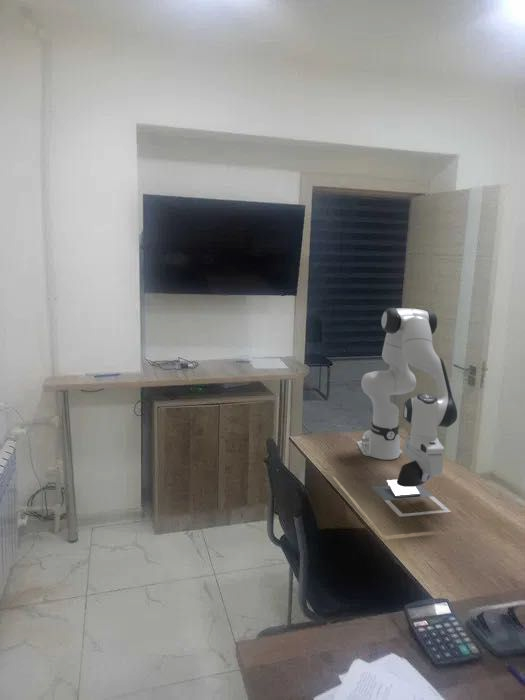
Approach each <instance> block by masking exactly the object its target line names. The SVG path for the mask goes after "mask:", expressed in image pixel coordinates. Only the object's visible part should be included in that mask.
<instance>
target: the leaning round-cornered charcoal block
mask: <svg viewBox="0 0 525 700" xmlns="http://www.w3.org/2000/svg"><path fill="white" fill-rule="evenodd" d="M421 475H423V472H422V469H421V468H420V466H419V465H418V463H417V462H416V461H410V462H408V463H405V464H403V465H402V466H401V467H400V471H399V474H398V477H397V479H398V480H397V479H396V480H397V484H398V485H400V486H403V487H414V486H418V485H421V486H422V485H423V484H424V483H426V482H423V481H422V480H420V478H421V477H420V476H421ZM430 477H431V476H430V475H428V477H427V481H428V480H429V479H430Z"/></svg>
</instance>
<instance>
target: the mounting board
mask: <svg viewBox="0 0 525 700" xmlns="http://www.w3.org/2000/svg"><path fill="white" fill-rule="evenodd" d="M415 487H416V488H417V490H418V491H419V493H420V496H413V497H401V498H395V497H394V495H393V494H392V492H391V490H390V488H389V487H388V485H380V486H377V485H376V486H371V489H372V490H374V492H375V493H376V494H377V495H378V496H379V497H380V498H381V499H382V500H383V501H384V502H385V503H386V505H388V506H389V507H390V508H391V509H392V510H393V511H394V512H395V514H396V515H397V516H398V517H410V516H411V517H413V516H420V515H421V516H422V515H423V516H424V515H431V514H443V513H452V510H450V509H449V508H448V507H446V505H444V504H443V503H442V502H441V501H439V499H437V498H436V497H435V496H434V495H433V494H431V493H430V492H429V491H427V490H426V488H424V487H423V486H422V484H421V485H418V486H415ZM419 498H420V499H421V498H428V499H431V501H433V502H434V503H435V504H436V505H438V507H439V508H440V509H439V510H431V511H419V512H408V513H403V512H402V511H400V509H398V507H396V505H395V504H393V503H392V501H395V500H398V501H399V500H408V499H419ZM441 509H442V510H441Z"/></svg>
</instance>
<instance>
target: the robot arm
mask: <svg viewBox="0 0 525 700" xmlns="http://www.w3.org/2000/svg"><path fill="white" fill-rule="evenodd" d="M437 326H438V317H437V314H436V313H435V312H433V311H431V310H423V309H417V308H412V307H411V308H409V307H408V308H406V307H405V308H403V307H402V308H401V307H399V308H396V307H388V308H387V309H386V310H384V312H383V314H382V317H381V327H382V330H383V331H384V332H386V334H385V338H384V342H383V347H382V351H381V352H382V353H381V358H382V360H383V361H384V362H385V363H386V364H387V365H389V368H388V369H387V370H374V371H371V372H367V373H364V374H363V376H362V378H361V382H360V385H361V390H362V391H363V393H364V394H365V395H367V396H368V397H369V399H370V400H371V403H372V408H373V411H372V412H373V417H372V421H371V422H370V427H369V428H370V429H369V430H367V431H365V432H364V433H363V434H362V436H361V440H359V441H357V446H358V448H359V450H360V451H361V453H362V455H363V456H365V457H372V458H374V459H379V460H384V461H386V460H395V459H398V458H399V457H400V455H401V454H402V455H403V456H404V457H405V458H407V459H408V460H409V461H410V462H412V461H416V462H417V463H418V465H419V466H420V468H421V469H422V472H423V475H421V476H420V477H421V478H420V480H422V481H423V482H425V483H426V482H427V481H428V480H427V477H428V475H430V477H439V476H441V475H442V472H443V465H444V456H443V454H445V447H444V446H443V445H442V443H441V442H440V440H439V438H438V430H437V427H443V428H449V427H451V426H452V425H453V424H455V422H456V421H457V419H458V410H457V406H456V403H455V400H454V397H453V394H452V390H451V385H450V381H449V377H448V373H447V369H446V365H445V363H444V360H443V359H442V357H440V356H439V355H437V353H436V351H435V349H434V346H433V334H434V333H435V332H436V330H437ZM409 365H410V366H412V367H413V368H416V369H419V370H421V371H423V372H425V373H428V375H430V376H431V377H432V378H433V379H434V381H435V385H436V391H437V395H438V396H436V395H433V394H430V393H425V392H424V393H418V394H417V395H415V397H409V398H408V399H406V401H405V402H404V403H403V418H404V420H405V421H406V422H407V423H409V424H411V429H410V432H409V433H407V434H406V438H405V439H404V442H403V445H402V447H403V449H401V437H400V435H399V430H400V428H399V427H400V426H399V418H400V417H399V416H400V410H399V408H398V406H397V404H395V403H393V402H391V396H396V395H397V396H398V395H405V394H409V393H412V392H413V391H414V390H415V389H416V387H417V378H416V376H415V374H414V373H413V372H412V371H411V369H410V367H409ZM437 397H438V398H437Z"/></svg>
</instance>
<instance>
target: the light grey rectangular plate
mask: <svg viewBox="0 0 525 700" xmlns="http://www.w3.org/2000/svg"><path fill="white" fill-rule="evenodd" d="M397 480H398V478H397V479H387V480H386V481H385V483H386V486H388V487H389V488H390V490H391V492H392V494H393V495H394V497H395V498H401V497H413V496H420V493H419V491H418V490H417V488H416V487H415V486H414V487H403V486H400V485H398V484H397Z"/></svg>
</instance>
